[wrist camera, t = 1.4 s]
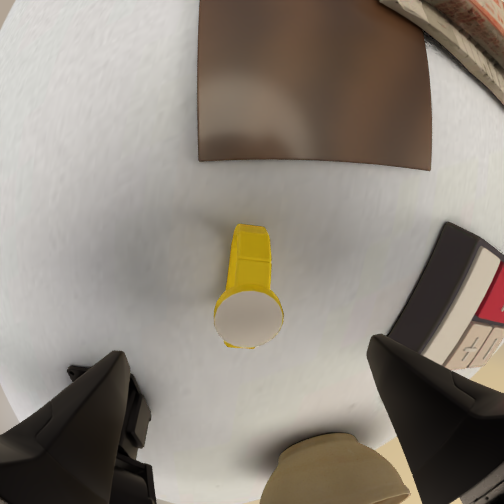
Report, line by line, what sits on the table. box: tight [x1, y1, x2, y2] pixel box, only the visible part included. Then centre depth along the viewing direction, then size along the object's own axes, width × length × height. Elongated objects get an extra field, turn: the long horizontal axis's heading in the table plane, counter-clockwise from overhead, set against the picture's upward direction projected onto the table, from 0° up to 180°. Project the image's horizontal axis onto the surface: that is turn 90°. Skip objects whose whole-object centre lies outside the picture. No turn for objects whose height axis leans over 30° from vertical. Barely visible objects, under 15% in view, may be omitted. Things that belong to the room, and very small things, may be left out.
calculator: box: [388, 222, 504, 370], centre depth 18 cm, size 11×4×15 cm
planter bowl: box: [260, 433, 411, 504], centre depth 21 cm, size 16×16×11 cm
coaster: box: [197, 0, 432, 171], centre depth 12 cm, size 14×14×1 cm
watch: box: [214, 224, 284, 349], centre depth 13 cm, size 6×3×6 cm, turn 171°
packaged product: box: [379, 0, 504, 105], centre depth 8 cm, size 18×5×10 cm
